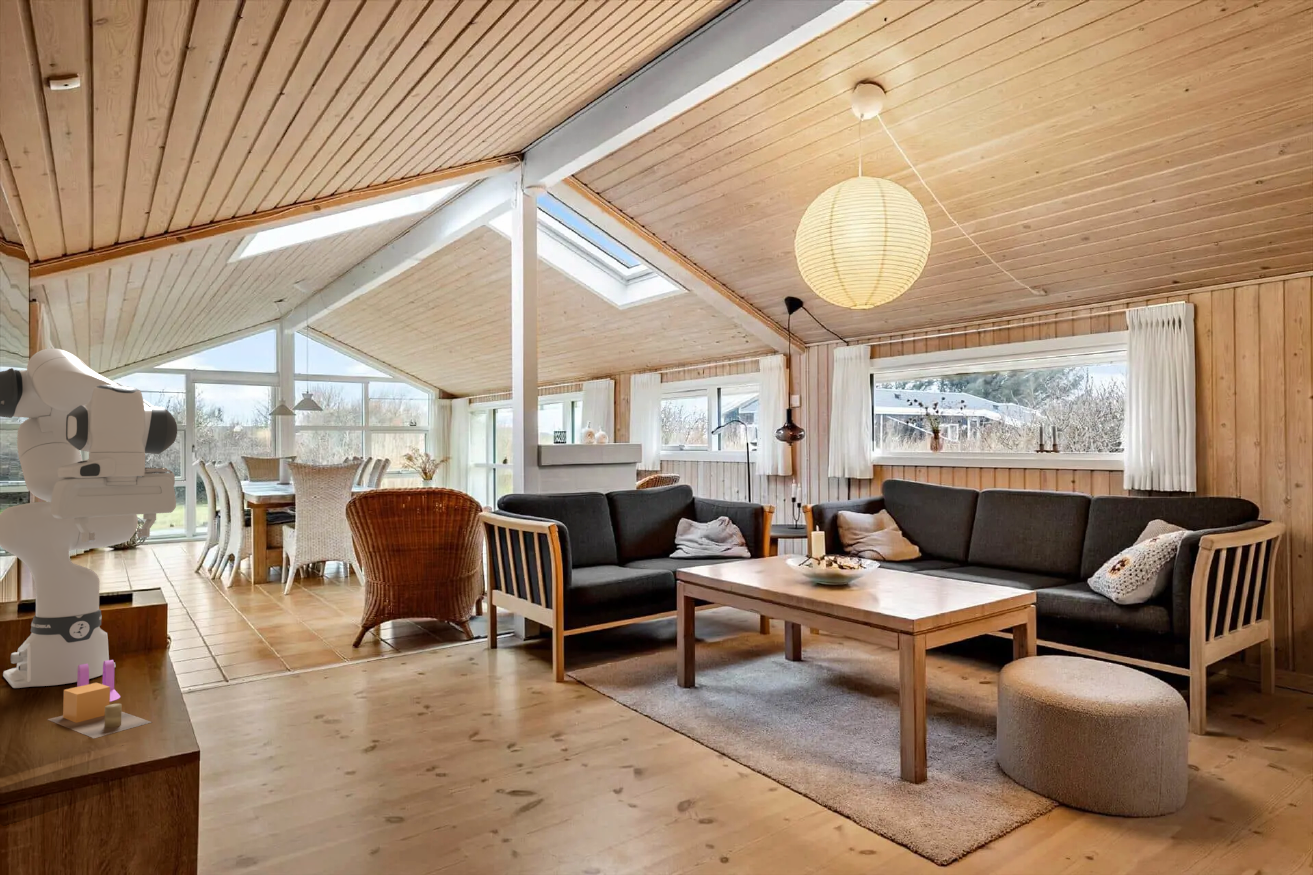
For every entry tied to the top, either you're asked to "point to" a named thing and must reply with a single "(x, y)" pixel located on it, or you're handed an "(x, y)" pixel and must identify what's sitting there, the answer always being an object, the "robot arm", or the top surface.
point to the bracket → (107, 677)
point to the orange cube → (85, 702)
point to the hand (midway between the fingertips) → (116, 539)
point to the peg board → (103, 722)
